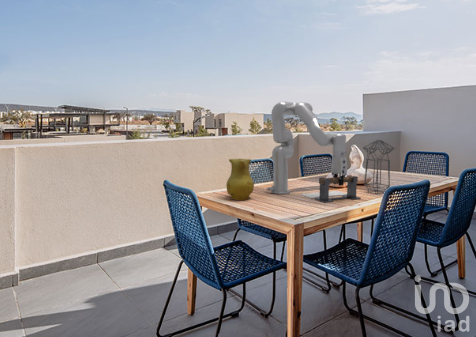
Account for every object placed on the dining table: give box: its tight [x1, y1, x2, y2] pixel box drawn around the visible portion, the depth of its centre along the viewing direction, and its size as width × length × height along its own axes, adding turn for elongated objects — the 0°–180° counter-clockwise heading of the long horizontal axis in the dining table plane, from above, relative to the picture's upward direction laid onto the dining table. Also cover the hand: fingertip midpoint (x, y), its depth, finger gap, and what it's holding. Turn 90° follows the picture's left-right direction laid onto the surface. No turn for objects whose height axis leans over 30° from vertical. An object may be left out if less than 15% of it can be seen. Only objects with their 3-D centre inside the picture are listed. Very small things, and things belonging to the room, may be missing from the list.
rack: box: [314, 174, 362, 204], centre depth 216 cm, size 26×10×14 cm, turn 111°
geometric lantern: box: [362, 139, 396, 195], centre depth 234 cm, size 16×16×35 cm
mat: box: [300, 190, 347, 199], centre depth 230 cm, size 28×12×1 cm, turn 111°
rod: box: [319, 175, 356, 185], centre depth 216 cm, size 24×4×4 cm, turn 111°
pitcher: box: [225, 158, 255, 201], centre depth 222 cm, size 17×19×25 cm
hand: (338, 184), depth 216 cm, fingers open, 4 cm apart
